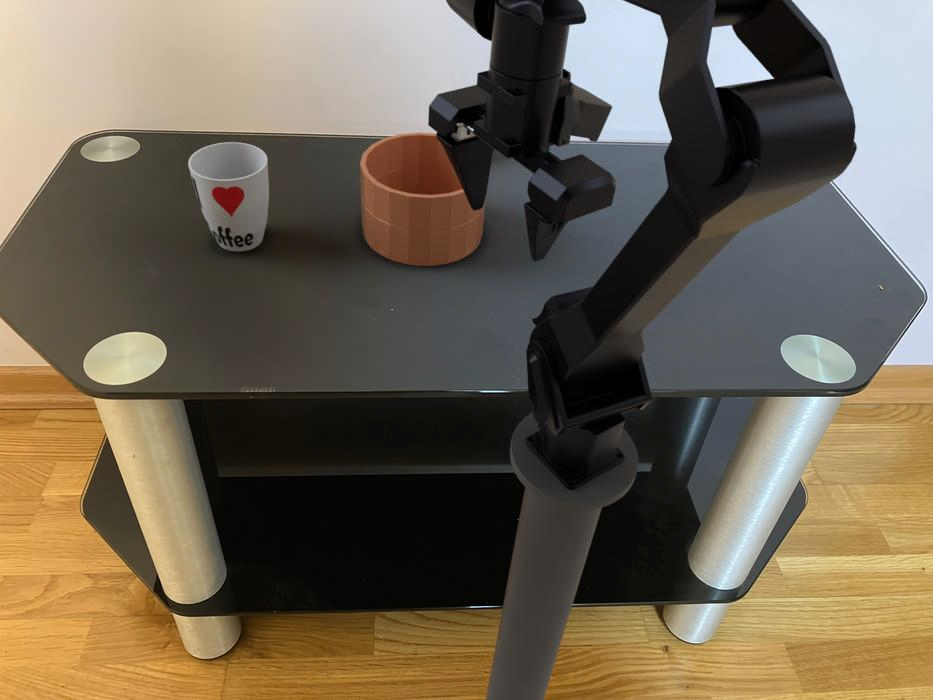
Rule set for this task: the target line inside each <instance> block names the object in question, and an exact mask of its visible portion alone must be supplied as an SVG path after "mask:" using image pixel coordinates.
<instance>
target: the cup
mask: <svg viewBox="0 0 933 700" xmlns="http://www.w3.org/2000/svg"><path fill="white" fill-rule="evenodd" d="M268 163H269V162H268V155H267V154H266V152H265V151H264V150H262V148H259V147H258V146H255V145H252V144H249V143H244V142H235V141H230V142H227V141H226V142H219V143H213V144H210V145H207V146H204V147H201V148H200V149H198V150H196V151H195V152H193V153H192V154H191V156H190V157H189V158H188V163H187V165H188V168H189V171H190V172H189V173H190V176H191V180H192V184H193V187H194V191H195V195H196V199H197V202H198V204H199V207H200V210H201V212H202V214H203V217H204V219H205V221H206V224H207V226H208V229H209V230H210V232H211V234H212V235H213V237H214V238H215V240H216V242H217V243H218V245H219V247H221V248H222V249H224V250H227V251H230V252H246V251H250V250H253V249H255V248H256V247H258V246H260V244H261V243H262V242H263V240H264V235H265V231H266V227H267V223H268V216H269V203H270V202H269V200H270V199H269V198H270V184H269V183H270V182H269V164H268Z"/></svg>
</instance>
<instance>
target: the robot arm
mask: <svg viewBox="0 0 933 700" xmlns="http://www.w3.org/2000/svg"><path fill="white" fill-rule="evenodd" d="M622 1H623V2H626V3H628V4H630V5H633V6H636V7H638V8H640V9H643V10H645V11H647V12H650V13H652V14H655V15H658V16H659V17H660V20H661V23H662V26H663V29H664V32H665V35H666V39H667V42H666V48H665V55H664V60H663V66H662V72H661V76H660V77H661V78H660V83H659V87H658V100H659V103H660V106H661V110H662V112H663V115H664V118H665V122H666V125H667V128H668V131H669V135H670V137H671V140H670V142H669V143H668V146H667V148H666V150H665V152H664V155H663V160H664V161H663V162H664V168H665V174H666V181H667V188H666V190H665V192H664V193H663V194H662V195H661V197H660V199H658V201H657V202H656V203H655V205H654V206H653V208H651V210H650V212H649V213H648V214H647V215H646V217H645V218H644V219H643V221H642V222H641V223H640V224H639V226H638V227H637V229H636V230H634V232H633V233H632V235H631V236H630V238H629V239H628V240H627V242H626V243H625V244H624V245H623V247H622V248H621V249H620V251H619V252H617V255H615V257H614V258H613V260H612V261H611V263H610V264H609V265H608V266H607V267H606V269H605V270H604V272H603V273H602V274H601V275H600V277H599V278H598V280H597V281H596V282H595V284H594V285H593V286H588V287H584V288H580V289H577V290H572V291H567V292H564V293H560V294H556V295H551V296H550V297H549V298H548V299H547V301H545V302H544V305H543V307H542V310H541V311H540V314H539V315H538V316H537V317H533V318H532V319H531V321H532V323H533V324H534V326H535V327H534V328H533V329H532V331H531V333H530V336H529V341H528V344H527V347H526V351H525V355H526V357H525V358H526V373H527V374H526V377H527V391H528V399H529V400H530V401H531V403H532V405H533V406H534V407H533V412H534V413H533V418H534V419H535V421H536V422H538V423H539V424H538V427H539V428H540V430H539V431H537V432H535V433H533V434H531V435H530V436H528V437H526V440H525V444H526V445H527V446H528V448H529V449H530V450H531V451H532V452H533V453H534V454H535V455H536V456H537V457H538V458H539V459H540V460H541V461H542V462H543V464H544V465H545V466H546V467H547V468H548V469H549V470H550V471H551V472H552V473H553V474H554V475H555V476H556V477H557V479H558V480H559V481H560V482H561V483H562V484H563V485H564V486H565V487H566V488H567V489H568V490H575V489H577V488H578V487H580V486H582V485H584V484H586V483H587V482H589V481H591V480H593V479H594V478H596V477H598V476H600V475H601V474H603V473H605V472H607V471H608V470H610V469H612V468H614V467H615V466H617V465H619V464H621V463H622V462H624V459H625V455H624V453H623V452H622V451H621V450H620V449H619V448H618V447H617V445H618V442H619V439H620V435H621V432H622V429H624V425H625V422H626V418H625V417H624V416H623V415H625V414H628V413H632V412H635V411H637V412H638V411H641V410H644V409H645V408H646V407H647V406H648V405H649V404H650V403H651V402H652V400H653V396H652V392H651V387H650V384H649V379H648V376H647V372H646V368H645V365H644V361H643V356H642V355H643V353H644V352H645V350H646V347H647V345H646V341H645V337H644V335H643V331H644V330H645V329H646V328H647V326H649V325H650V324H651V322H653V320H654V319H655V318H656V317H658V315H659V314H661V313H662V311H663V310H664V309H665V308H666V307H667V306H668V305H669V304H670V303H671V302H672V301H673V300H674V299H675V298H676V297H677V296H678V295H679V294H680V293H681V292H682V291H683V290H685V288H686V287H687V286H688V285H689V284H690V283H691V282H692V281H693V280H694V279H695V278H696V277H697V276H698V275H699V274H700V272H702V270H703V269H705V267H707V266H708V264H709V263H711V261H713V259H715V258H716V256H717V255H718V254H720V252H721V251H722V250H723V249H724V248H725V247H726V246H727V245H728V244H729V243H730V242H731V241H732V240H734V238H735V237H736V236H737V235H738V234H739V233H740V232H741V231H742V230H744V229H745V228H747V227H749V226H751V225H753V224H755V223H757V222H760V221H761V220H764V219H766V218H768V217H771V216H772V215H774V214H777V213H778V212H780V211H782V210H785V209H787V208H789V207H791V206H793V205H795V204H797V203H799V202H801V201H803V200H804V199H806V198H808V197H809V196H810V195H812V194H814V193H815V192H817V191H818V190H820V189H822V188H824V187H825V186H827V185H828V184H829V183H831V182H833V181H835V180H836V179H837V178H838V177H840V176H841V175H842V174H844V173H845V171H846V170H847V168H848V167H849V165H850V164H851V163H852V161H853V159H854V157H855V155H856V152H857V149H858V145H857V142H855V137H856V127H857V126H856V121H855V119H856V118H855V113H854V107H853V105H852V102H851V101H850V99H849V96H848V94H847V91H846V88H845V85H844V82H843V79H842V77H841V73H840V71H839V68H838V65H837V62H836V59H835V56H834V53H833V51H832V47H831V45H830V43H829V42H828V40H827V39H826V38H825V36H823V34H822V33H821V32H820V30H819V29H818V28H817V27H816V26H815V25H814V24H813V23H812V21H811V20H810V19H809V18H808V16H806V15H805V14H804V12H803V11H802V10H801V9H800V8H799V6H797V5H796V3H795V2H794V1H793V0H622ZM445 2H446V3H447V5H448V7H449V8H450V9H451V10H452V11H453V12H454V13H455V14H456V15H457V16H459V17H460V19H462V20H463V21H464V22H465V23H466V24H467V25H468V26H470V27H471V28H472V29H473V30H474V31H475V32H476V33H477V34H478V35H479V36H480V37H482V38H483V39H485V40H486V41H489V42H490V43H491V44H490V45H491V46H490V55H489V56H490V57H489V64H488V65H489V66H488V70H485V71H480V72H477V76H476V84H473V85H469V86H466V87H462V88H457V89H452V90H448V91H445V92H441V93H437V94H436V96H434V99H433V100H432V101H431V103H430V104H429V105H428V119H427V120H428V122H427V124H428V127H430V128H431V129H432V130H434V132H436V133H435V134H436V137H437V140H438V141H440V143H441V144H442V146H443V148H444V150H445V152H446V154H447V156H448V158H449V160H450V162H451V164H452V166H453V168H454V170H455V173H456V175H457V177H458V179H459V181H460V184H461V186H462V188H463V190H464V193H465V195H466V197H467V200H468V202H469V204H470V206H471V208H472V209H473V210H474V211H476V210H479V209H481V208H483V205H484V201H485V197H486V198H487V192H488V186H489V179H490V173H491V168H492V167H491V166H492V162H493V161H492V159H493V154H494V152H495V151H496V152H497V153H499V154H500V155H501V156H503V157H504V158H505V159H511V158H512V159H513V160H515V162H517V163H518V164H520V165H521V166H522V167H524V168H525V169H526V170H528V171H529V172H531V173H532V174H533V175H532V176H531V177H530V178H529V180H528V184H527V196H528V198H529V201H527V202H524V204H523V207H524V217H525V223H526V232H527V240H528V246H529V247H528V249H529V252H530V256H531V260H532V261H533V262H538V261H539V262H540V261H542V260H543V259H544V258H545V257H546V256H547V254H548V253H549V252H550V250H551V248H552V246H553V245H554V244H555V242H556V241H557V239H558V237H559V236H560V234H561V233H562V231H563V230H564V228H565V227H566V226H567V224H568V223H569V222H570V221H574V220H577V219H579V218H582V217H585V216H587V215H590V214H593V213H595V212H598V211H601V210H604V209H607V208H609V207H612V206H613V201H614V197H615V193H616V190H617V189H616V188H617V179H616V178H615V177H614V175H613V174H612V173H611V172H609V171H608V170H607V169H605V168H604V167H602V166H600V165H599V164H598V163H596V162H595V161H593V160H592V159H590V158H589V157H587V156H586V155H584V154H582V153H581V154H578V155H575V156H570V157H568V158H564V159H561V158H560V157H558V156H557V155H555V154H553V153H552V152H551V151H550V150H551V146H556V147H558V148H560V147H563V146H566V145H569V144H570V142H571V136H572V137H577V138H583V139H588V140H589V141H590V142H594V143H595V142H596V143H597V142H598V141H599V138H600V136H601V134H602V132H603V129H604V127H605V125H606V123H607V121H608V118H609V116H610V114H611V112H612V109H613V105H612V104H610V103H608V102H607V101H605V100H603V99H602V98H600V97H599V96H597V95H595V94H593V93H592V92H590V91H589V90H587V89H585V88H582V87H581V86H579V85H577V84H575V83H573V82H572V81H571V80H572V79H571V78H572V73H571V72H570V71H569V70H567V69H566V68H565V67H564V66H565V61H566V60H565V59H566V54H567V48H568V47H567V46H568V41H569V33H570V27H571V26H575V25H582V24H585V23H586V22H587V13H586V10H585V7H584V5H583V4H582V2H581V1H580V0H445ZM730 26H731V28H732V30H733V33H734V34H735V36H736V37H737V38H738V40H739V41H740V42H741V44H743V45H744V47H745V48H747V50H748V51H749V52H750V54H751V55H752V56H754V58H755V59H756V60H757V61H758V62H759V63H760V65H761V66H762V67H763V68H764V69H765V70H766V71H767V72H768V73H769V75H770V76H771V77H772V78H769V79H768V78H767V79H762V80H755V81H749V82H741V83H735V84H727V85H721V86H715V83H714V79H713V77H712V74H711V70H710V68H709V64H708V56H709V50H710V42H711V37H712V31H713V29H714V28H720V27H730ZM529 441H533V442H529ZM617 456H619V457H621V458H618V457H617ZM569 483H572V484H573V485H570V484H569Z"/></svg>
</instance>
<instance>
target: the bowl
mask: <svg viewBox="0 0 933 700" xmlns="http://www.w3.org/2000/svg"><path fill="white" fill-rule="evenodd" d="M359 172H360V202H361V204H360V205H361V228H362V234H363V238H364V240H365V242H366V243H367V245H368V246H369V247H370V248H371V249H372V250H373V251H374V252H375V253H377V254H379V256H382V257H383V258H386V259H387V260H390V261H393V262H395V263H399V264H402V265H403V264H404V265H408V266H415V267H434V266H442V265H447V264H451V263H455V262H457V261H461V260H462V259H464V258H466V257H468V256H469V255H470V254H472V253H473V252H474V251H475V250H476V249H477V248H478V247H479V246H480V244H481V242H482V238H483V233H484V225H485V223H484V222H485V211H486V201H487V196H486V197H485V201H484V205H483V208H481V209H479V210H476V211H474V210H473V209H472V208H471V206H470V204H469V202H468V200H467V197H466V195H465V193H464V190H463V188H462V186H461V184H460V181H459V179H458V177H457V175H456V173H455V170H454V168H453V166H452V164H451V162H450V160H449V158H448V156H447V154H446V152H445V150H444V148H443V146H442V144H441V143H440V141H438V140H437V137H436V133H432V132H409V133H400V134H396V135H392V136H387V137H384V138H382V139H380V140H378V141H376V142H375V143H373V144H370V146H369V147H368V148H367V149H366V150H365V151H363V153H362V155H361V159H360V164H359Z"/></svg>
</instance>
